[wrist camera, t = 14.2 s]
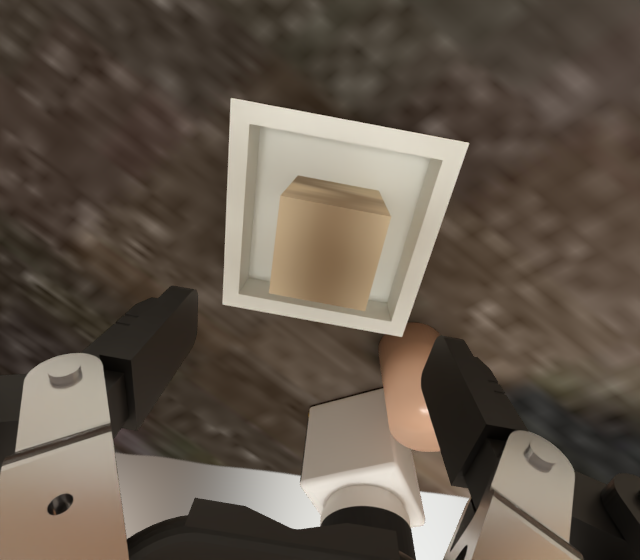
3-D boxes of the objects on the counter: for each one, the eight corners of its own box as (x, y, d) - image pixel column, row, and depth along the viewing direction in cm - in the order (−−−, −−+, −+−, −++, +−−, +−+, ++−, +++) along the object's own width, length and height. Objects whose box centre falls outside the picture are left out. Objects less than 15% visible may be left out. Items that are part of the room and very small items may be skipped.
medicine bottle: (308, 405, 29) (286, 573, 18) (385, 385, 27) (411, 556, 17) (338, 456, 32) (334, 628, 21) (410, 440, 30) (446, 618, 19)
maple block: (287, 251, 22) (268, 293, 17) (297, 175, 20) (280, 195, 14) (360, 264, 22) (364, 311, 17) (378, 190, 20) (391, 216, 14)
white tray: (236, 283, 24) (222, 304, 21) (247, 101, 19) (230, 97, 16) (395, 313, 24) (402, 337, 22) (451, 139, 19) (469, 142, 16)
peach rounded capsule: (371, 367, 27) (379, 443, 20) (387, 317, 24) (401, 384, 18) (431, 378, 27) (458, 457, 20) (452, 328, 25) (489, 400, 18)
